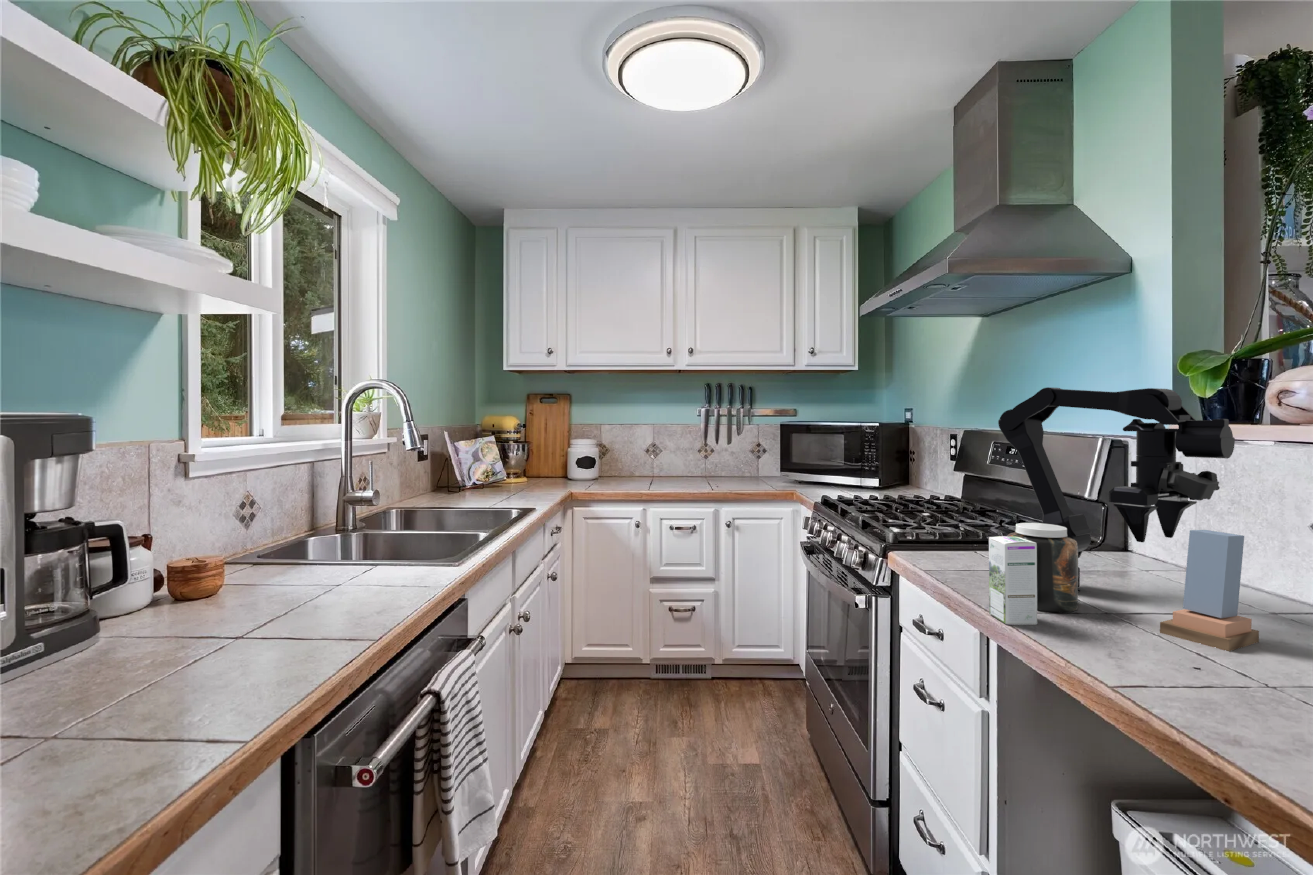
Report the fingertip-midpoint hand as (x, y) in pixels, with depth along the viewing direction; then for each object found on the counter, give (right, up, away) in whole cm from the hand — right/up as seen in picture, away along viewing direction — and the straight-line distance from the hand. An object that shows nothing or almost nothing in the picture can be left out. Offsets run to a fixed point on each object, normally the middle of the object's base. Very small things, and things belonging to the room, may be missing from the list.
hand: (1154, 539), depth 113 cm
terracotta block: (-3, -12, -15) cm, 19 cm away
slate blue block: (-3, -9, -14) cm, 17 cm away
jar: (-18, -13, +5) cm, 23 cm away
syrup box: (-29, -14, -5) cm, 33 cm away
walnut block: (-3, -14, -14) cm, 20 cm away
